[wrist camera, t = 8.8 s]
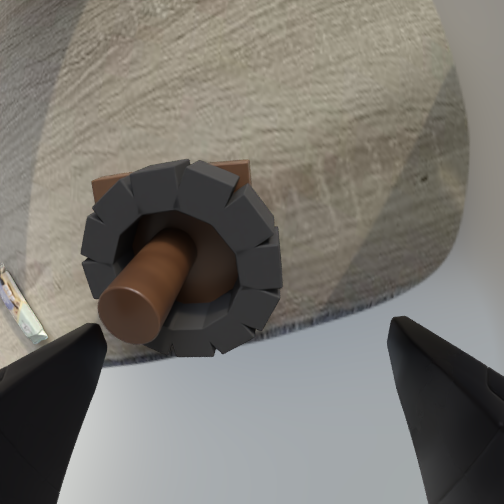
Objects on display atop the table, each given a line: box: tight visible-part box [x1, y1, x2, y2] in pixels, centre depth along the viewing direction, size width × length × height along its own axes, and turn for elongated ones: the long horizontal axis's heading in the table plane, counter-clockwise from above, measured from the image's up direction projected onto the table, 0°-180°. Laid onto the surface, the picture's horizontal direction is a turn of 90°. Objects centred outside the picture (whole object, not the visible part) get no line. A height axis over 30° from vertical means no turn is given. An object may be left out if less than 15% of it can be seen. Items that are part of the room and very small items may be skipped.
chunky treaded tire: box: [81, 159, 283, 357], centre depth 15 cm, size 9×9×2 cm
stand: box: [92, 160, 252, 345], centre depth 13 cm, size 8×8×7 cm
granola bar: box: [0, 263, 48, 344], centre depth 19 cm, size 7×2×1 cm, turn 23°
